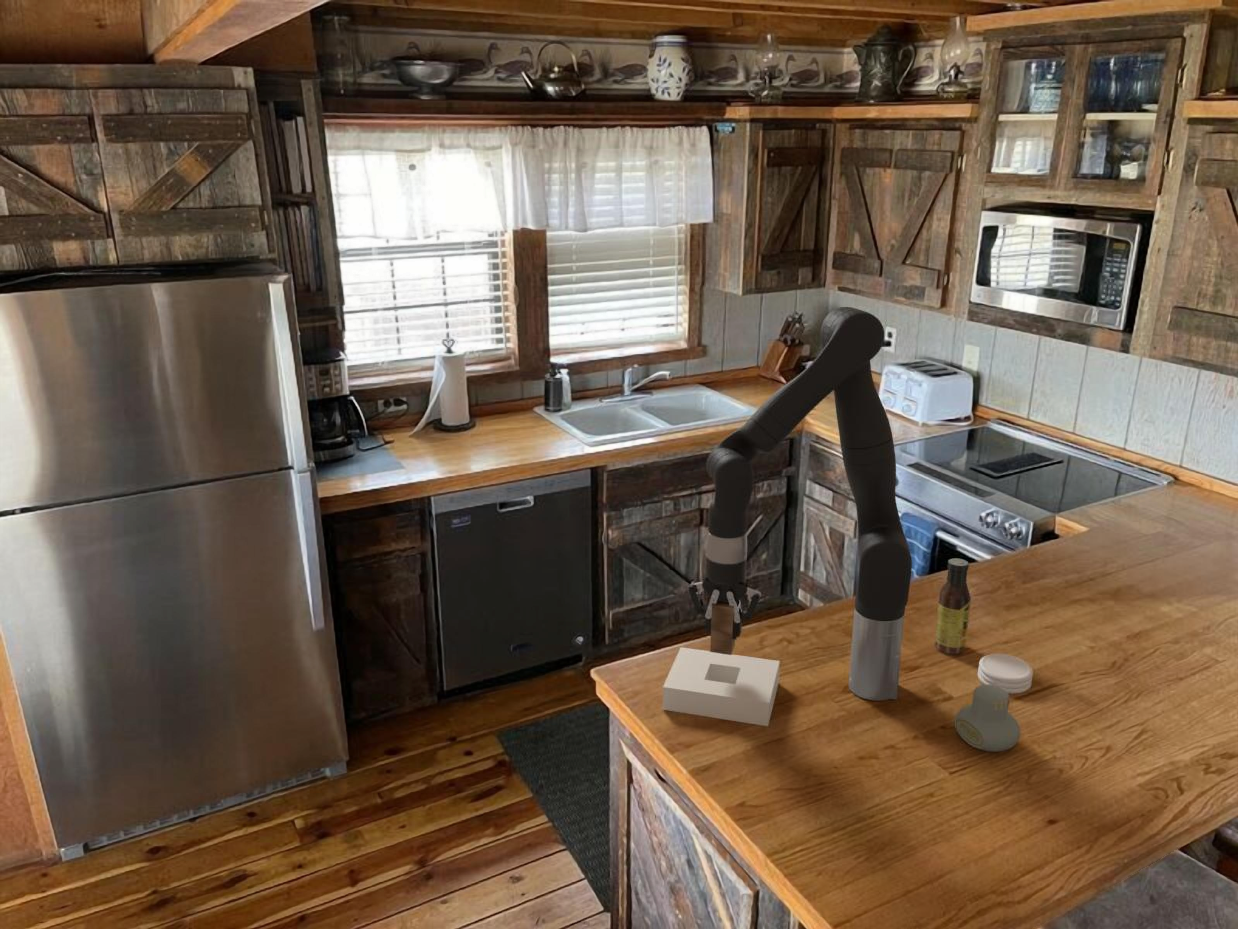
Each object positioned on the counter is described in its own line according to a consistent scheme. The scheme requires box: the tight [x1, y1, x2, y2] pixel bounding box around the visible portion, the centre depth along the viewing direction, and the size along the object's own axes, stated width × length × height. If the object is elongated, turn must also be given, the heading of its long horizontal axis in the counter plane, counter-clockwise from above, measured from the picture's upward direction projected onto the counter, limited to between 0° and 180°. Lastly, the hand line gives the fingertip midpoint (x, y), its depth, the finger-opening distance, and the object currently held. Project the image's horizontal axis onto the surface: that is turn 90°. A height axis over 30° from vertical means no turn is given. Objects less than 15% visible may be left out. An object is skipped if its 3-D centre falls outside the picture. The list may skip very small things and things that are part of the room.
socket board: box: [662, 646, 781, 727], centre depth 180 cm, size 20×15×5 cm
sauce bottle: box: [934, 557, 972, 655], centre depth 194 cm, size 6×6×20 cm
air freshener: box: [954, 684, 1021, 753], centre depth 165 cm, size 11×8×10 cm
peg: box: [709, 603, 736, 655], centre depth 176 cm, size 4×4×10 cm
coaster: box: [977, 653, 1034, 695], centre depth 185 cm, size 10×10×4 cm
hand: (723, 635), depth 177 cm, fingers closed on peg, 4 cm apart
